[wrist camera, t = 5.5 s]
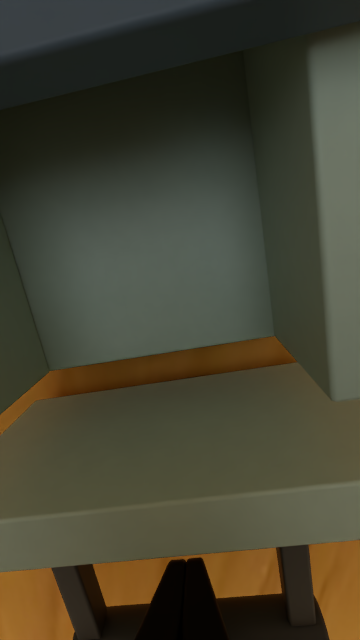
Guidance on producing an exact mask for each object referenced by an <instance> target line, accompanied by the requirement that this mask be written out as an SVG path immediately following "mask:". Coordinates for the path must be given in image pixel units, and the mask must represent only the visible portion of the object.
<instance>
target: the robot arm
mask: <svg viewBox="0 0 360 640" xmlns="http://www.w3.org/2000/svg"><path fill="white" fill-rule="evenodd" d="M134 640H229V637H228V634H227V631H226V627H225V624H224V621H223V618H222V615H221V612H220V609H219V606H218V603H217V600H216V597H215V594H214V591H213V588H212V585H211V582H210V579H209V576H208V573H207V570H206V567H205V564H204V561H203V559H202V558H189V559H188V560H187V562H186V560H184V559H178V560H171V561H170V562H169V563H168V565H167V567H166V570H165V572H164V574H163V576H162V579H161V581H160V583H159V585H158V588H157V590H156V592H155V594H154V596H153V599H152V601H151V603H150V605H149V608H148V610H147V612H146V614H145V617H144V619H143V621H142V623H141V625H140V628H139V630H138V632H137V634H136V637H135V639H134Z"/></svg>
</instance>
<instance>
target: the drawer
mask: <svg viewBox="0 0 360 640" xmlns="http://www.w3.org/2000/svg"><path fill="white" fill-rule="evenodd" d="M271 336H276V338H277V339H278V340H279V341H280V342H281V343H282V345H283V346H284V347H285V348H286V349H287V350H288V351H289V353H290V354H291V355H292V356H293V357H294V358H295V360H296V361H297V362H296V363H289V364H282V365H275V366H269V367H262V368H255V369H248V370H241V371H234V372H228V373H221V374H214V375H207V376H200V377H194V378H187V379H180V380H173V381H166V382H159V383H153V384H146V385H139V386H132V387H125V388H118V389H112V390H105V391H98V392H91V393H84V394H78V395H71V396H64V397H57V398H50V399H43V400H37V401H35V402H34V403H33V404H32V405H31V406H30V407H29V408H28V409H27V410H26V411H25V412H24V413H23V414H22V415H21V416H20V417H19V418H18V419H17V420H16V421H15V422H14V423H13V424H12V425H11V426H10V427H9V428H7V429H6V430H5V431H4V432H3V433H2V434H1V435H0V572H8V571H19V570H31V569H42V568H52V571H53V573H54V576H55V579H56V581H57V584H58V587H59V590H60V592H61V595H62V598H63V600H64V603H65V606H66V608H67V611H68V614H69V616H70V619H71V622H72V625H73V627H74V630H75V632H74V637H73V640H134V639H135V637H136V634H137V632H138V630H139V628H140V625H141V623H142V621H143V619H144V617H145V614H146V612H147V610H148V608H149V605H150V604H137V605H123V606H110V607H106V605H105V602H104V599H103V596H102V593H101V589H100V586H99V583H98V580H97V577H96V574H95V571H94V568H93V565H92V564H97V563H108V562H119V561H131V560H142V559H153V558H164V557H175V556H186V555H197V554H208V553H219V552H231V551H242V550H253V549H264V548H275V547H276V551H277V558H278V565H279V573H280V580H281V588H282V594H269V595H256V596H243V597H229V598H216V600H217V603H218V606H219V609H220V612H221V615H222V618H223V621H224V624H225V627H226V631H227V634H228V637H229V640H329V636H328V632H327V629H326V625H325V622H324V619H323V616H322V613H321V610H320V607H319V605H318V602H317V600H316V598H315V596H314V595H313V585H312V576H311V566H310V556H309V546H308V544H319V543H331V542H342V541H353V540H360V21H358V22H354V23H350V24H346V25H342V26H338V27H334V28H330V29H326V30H322V31H318V32H314V33H310V34H306V35H301V36H297V37H293V38H289V39H285V40H281V41H277V42H273V43H269V44H265V45H261V46H257V47H253V48H249V49H245V50H241V51H237V52H233V53H229V54H225V55H221V56H217V57H212V58H208V59H204V60H200V61H196V62H192V63H188V64H184V65H180V66H176V67H172V68H168V69H164V70H160V71H156V72H152V73H148V74H144V75H140V76H136V77H132V78H128V79H123V80H119V81H115V82H111V83H107V84H103V85H99V86H95V87H91V88H87V89H83V90H79V91H75V92H71V93H67V94H63V95H59V96H55V97H51V98H47V99H43V100H39V101H34V102H30V103H26V104H22V105H18V106H14V107H10V108H6V109H2V110H0V414H1V413H2V412H4V411H5V410H6V409H7V408H8V407H9V406H11V405H12V404H13V403H14V402H15V401H16V400H17V399H19V398H20V397H21V396H22V395H23V394H24V393H26V392H27V391H28V390H29V389H30V388H31V387H32V386H34V385H35V384H36V383H37V382H38V381H39V380H40V379H42V378H43V377H44V376H45V375H46V374H47V373H49V371H53V370H60V369H66V368H72V367H79V366H85V365H92V364H98V363H105V362H111V361H117V360H124V359H130V358H137V357H143V356H150V355H156V354H162V353H169V352H175V351H182V350H188V349H194V348H201V347H207V346H214V345H220V344H227V343H233V342H239V341H246V340H252V339H259V338H265V337H271Z"/></svg>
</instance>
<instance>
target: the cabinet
mask: <svg viewBox="0 0 360 640" xmlns="http://www.w3.org/2000/svg"><path fill="white" fill-rule="evenodd" d="M358 21H360V0H0V110H2V109H6V108H10V107H14V106H18V105H22V104H26V103H30V102H34V101H39V100H43V99H47V98H51V97H55V96H59V95H63V94H67V93H71V92H75V91H79V90H83V89H87V88H91V87H95V86H99V85H103V84H107V83H111V82H115V81H119V80H123V79H128V78H132V77H136V76H140V75H144V74H148V73H152V72H156V71H160V70H164V69H168V68H172V67H176V66H180V65H184V64H188V63H192V62H196V61H200V60H204V59H208V58H212V57H217V56H221V55H225V54H229V53H233V52H237V51H241V50H245V49H249V48H253V47H257V46H261V45H265V44H269V43H273V42H277V41H281V40H285V39H289V38H293V37H297V36H301V35H306V34H310V33H314V32H318V31H322V30H326V29H330V28H334V27H338V26H342V25H346V24H350V23H354V22H358Z"/></svg>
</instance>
